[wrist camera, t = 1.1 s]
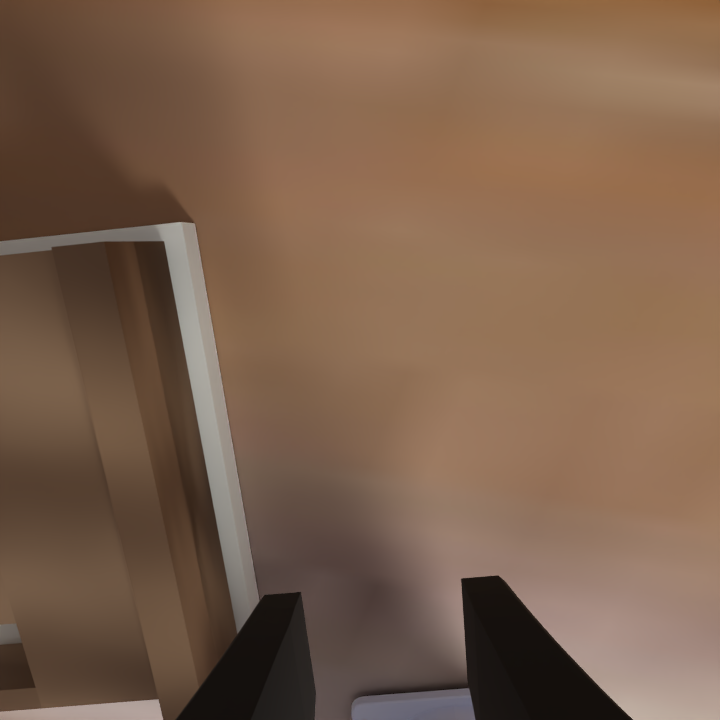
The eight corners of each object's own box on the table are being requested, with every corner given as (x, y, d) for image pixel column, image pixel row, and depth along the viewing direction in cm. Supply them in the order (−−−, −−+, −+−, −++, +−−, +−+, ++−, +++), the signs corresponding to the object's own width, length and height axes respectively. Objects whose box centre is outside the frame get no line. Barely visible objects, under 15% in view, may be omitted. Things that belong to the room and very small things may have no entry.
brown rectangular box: (239, 644, 18) (210, 739, 14) (-8, 664, 18) (-94, 762, 15) (164, 241, 15) (103, 241, 11) (-135, 272, 15) (-283, 282, 12)
